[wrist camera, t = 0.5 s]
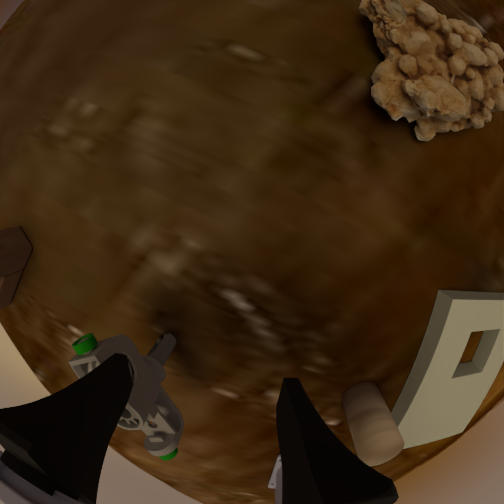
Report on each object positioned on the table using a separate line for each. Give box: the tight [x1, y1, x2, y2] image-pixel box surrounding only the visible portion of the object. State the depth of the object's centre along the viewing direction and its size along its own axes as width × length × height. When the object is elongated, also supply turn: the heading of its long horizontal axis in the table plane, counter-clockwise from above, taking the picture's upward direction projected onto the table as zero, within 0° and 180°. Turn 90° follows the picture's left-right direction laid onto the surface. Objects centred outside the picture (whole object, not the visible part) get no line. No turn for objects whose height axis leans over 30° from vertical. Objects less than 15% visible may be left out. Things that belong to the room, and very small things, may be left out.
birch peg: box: [342, 382, 405, 466], centre depth 19 cm, size 4×4×8 cm
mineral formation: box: [359, 0, 504, 141], centre depth 13 cm, size 8×13×15 cm
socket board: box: [391, 290, 504, 449], centre depth 21 cm, size 20×14×2 cm
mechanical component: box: [69, 333, 184, 460], centre depth 18 cm, size 3×10×10 cm, turn 23°
